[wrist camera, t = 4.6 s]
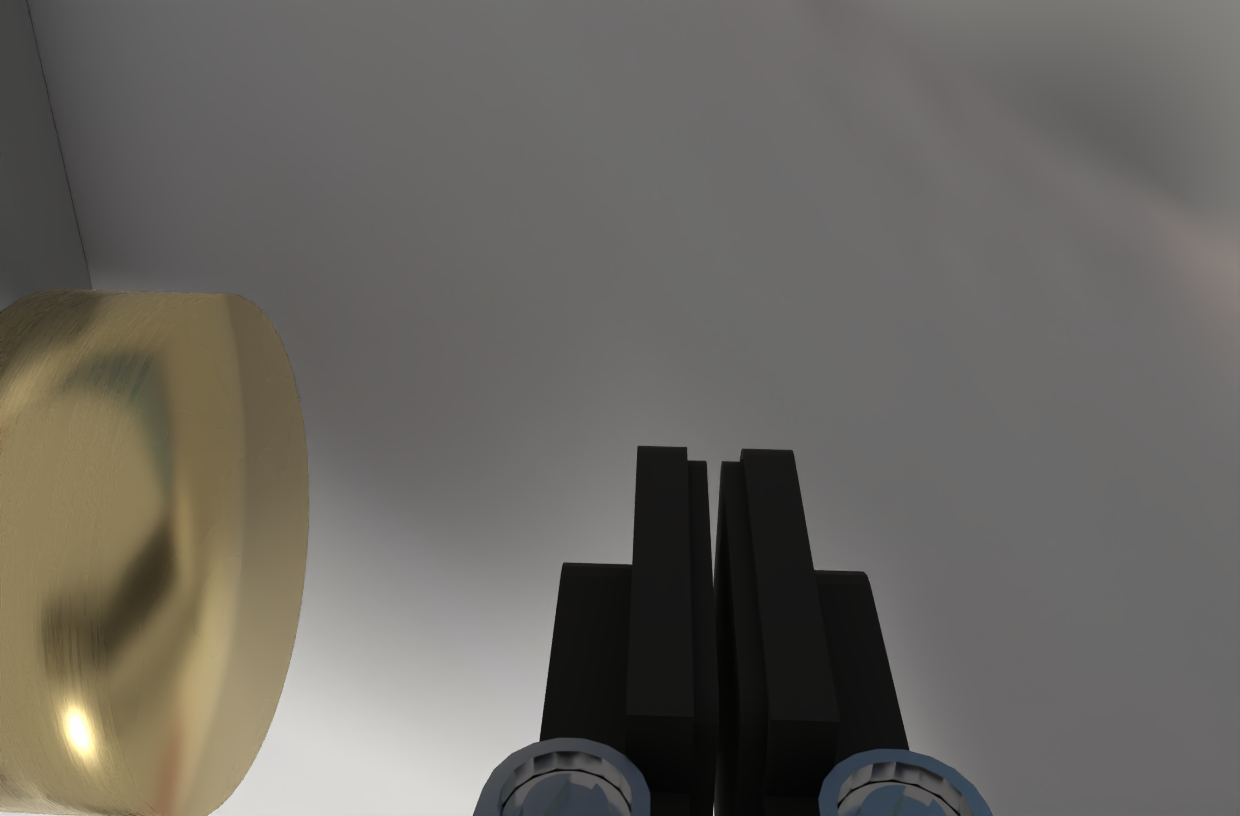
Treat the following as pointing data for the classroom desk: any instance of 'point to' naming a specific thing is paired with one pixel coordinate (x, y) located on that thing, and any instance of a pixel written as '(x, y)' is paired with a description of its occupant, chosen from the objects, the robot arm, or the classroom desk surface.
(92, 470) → the shaft
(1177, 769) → the classroom desk surface
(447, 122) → the classroom desk surface
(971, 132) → the classroom desk surface
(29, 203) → the base mat
